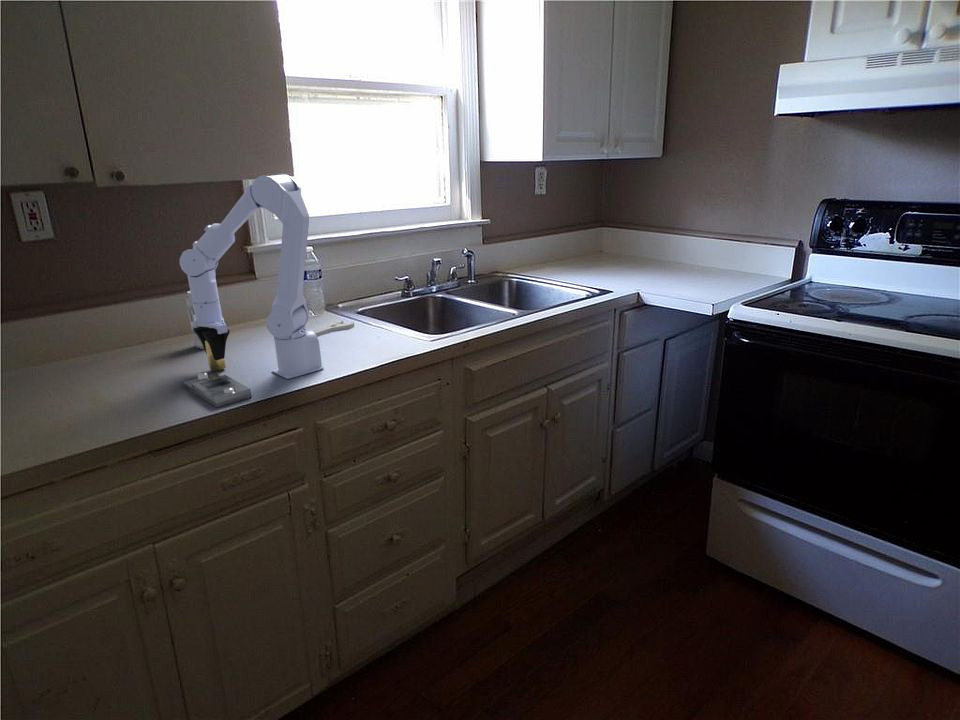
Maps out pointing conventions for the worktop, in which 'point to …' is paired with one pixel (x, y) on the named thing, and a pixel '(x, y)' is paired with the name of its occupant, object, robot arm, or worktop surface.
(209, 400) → the studded plate with cutout
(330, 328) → the adjustable wrench
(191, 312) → the energy drink can
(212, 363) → the brass pin
